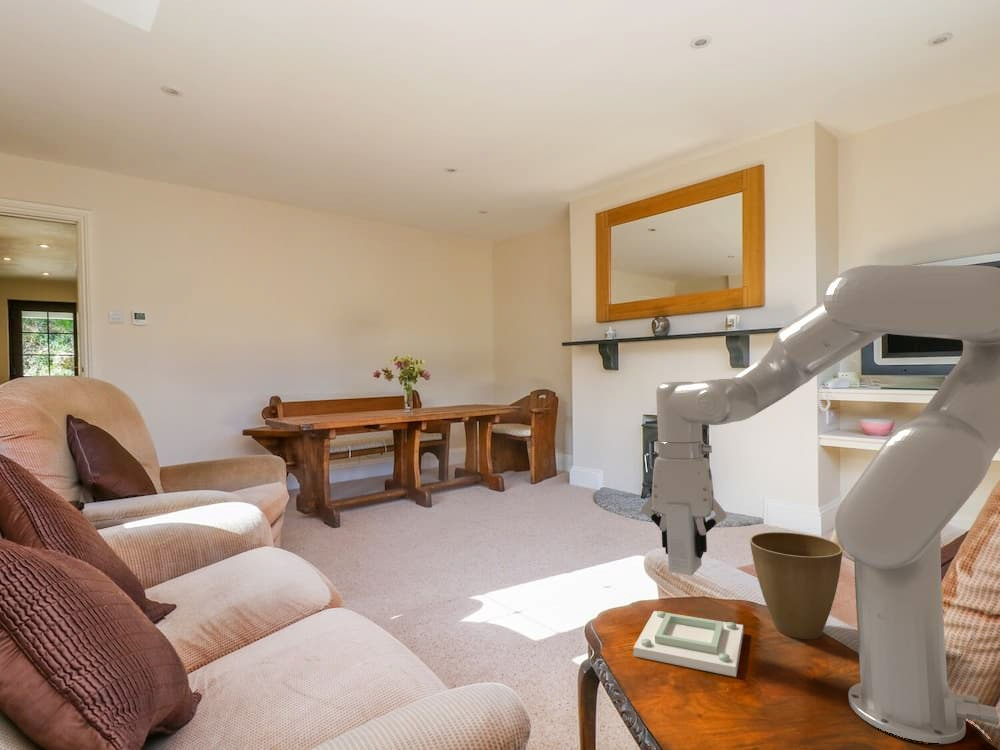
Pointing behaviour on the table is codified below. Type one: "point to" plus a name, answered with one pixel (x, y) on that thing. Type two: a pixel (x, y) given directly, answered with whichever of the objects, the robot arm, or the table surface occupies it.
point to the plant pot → (797, 580)
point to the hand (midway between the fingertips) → (684, 552)
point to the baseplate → (691, 642)
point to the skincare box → (681, 539)
